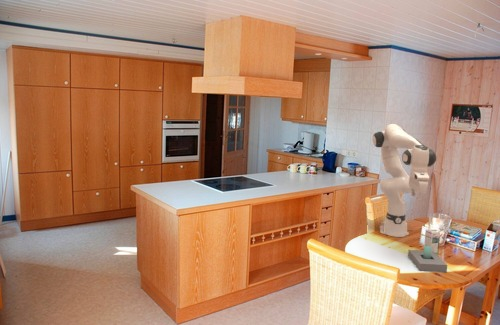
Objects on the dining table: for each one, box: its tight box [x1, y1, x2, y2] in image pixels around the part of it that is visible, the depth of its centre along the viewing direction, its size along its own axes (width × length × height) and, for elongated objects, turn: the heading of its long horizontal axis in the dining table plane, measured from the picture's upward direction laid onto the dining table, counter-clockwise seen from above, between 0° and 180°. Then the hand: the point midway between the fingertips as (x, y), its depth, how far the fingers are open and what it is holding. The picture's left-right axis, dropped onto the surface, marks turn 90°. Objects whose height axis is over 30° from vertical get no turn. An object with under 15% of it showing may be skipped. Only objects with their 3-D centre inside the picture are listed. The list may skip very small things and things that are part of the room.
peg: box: [423, 245, 432, 259], centre depth 217 cm, size 4×4×10 cm
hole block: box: [407, 249, 448, 273], centre depth 218 cm, size 20×14×4 cm
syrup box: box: [423, 228, 441, 256], centre depth 232 cm, size 6×6×14 cm
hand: (415, 197), depth 224 cm, fingers open, 8 cm apart
